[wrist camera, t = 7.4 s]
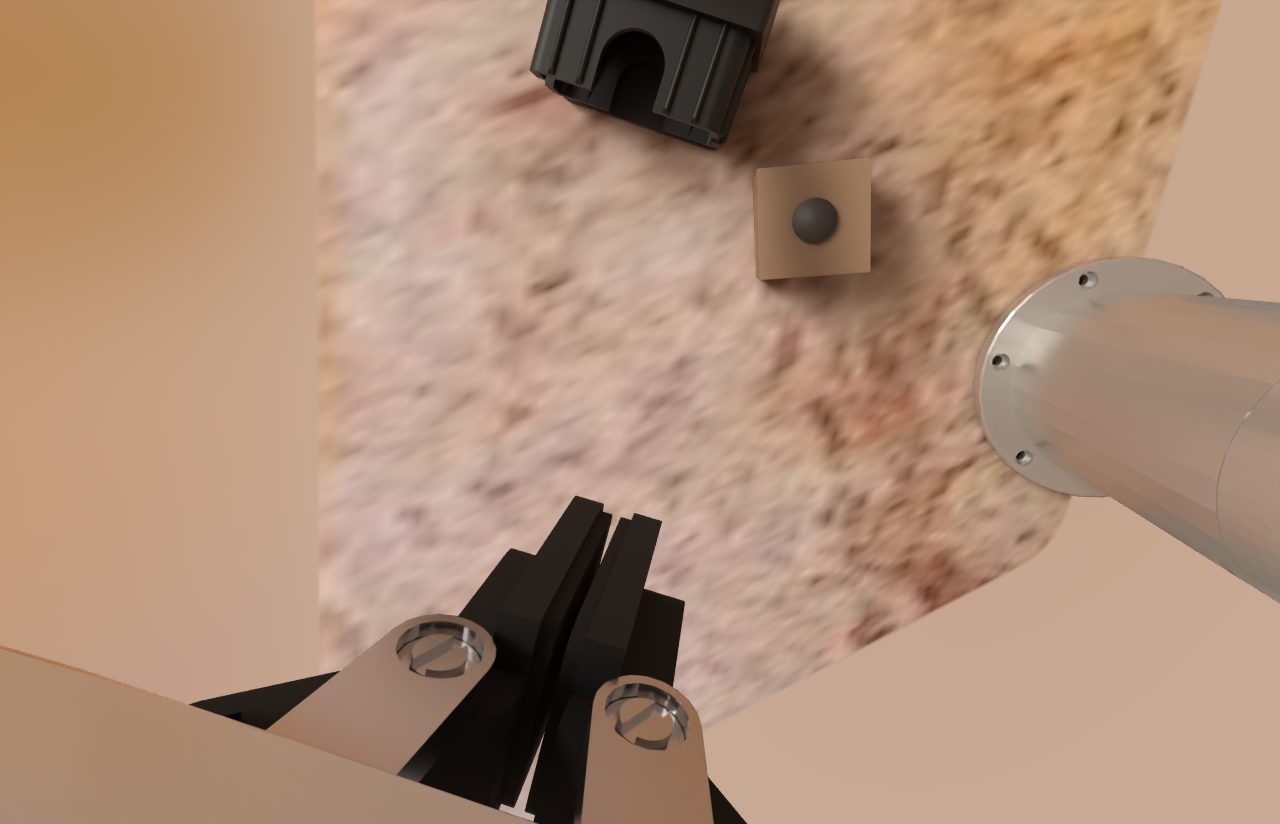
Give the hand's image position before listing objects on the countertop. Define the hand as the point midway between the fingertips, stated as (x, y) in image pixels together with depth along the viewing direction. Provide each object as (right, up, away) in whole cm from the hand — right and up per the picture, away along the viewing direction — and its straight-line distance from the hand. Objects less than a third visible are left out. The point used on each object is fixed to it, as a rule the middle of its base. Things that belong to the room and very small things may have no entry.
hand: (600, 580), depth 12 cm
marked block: (+9, +13, +22) cm, 28 cm away
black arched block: (+2, +22, +21) cm, 30 cm away
